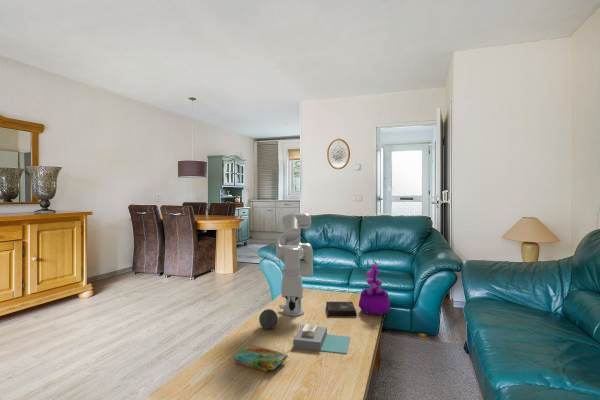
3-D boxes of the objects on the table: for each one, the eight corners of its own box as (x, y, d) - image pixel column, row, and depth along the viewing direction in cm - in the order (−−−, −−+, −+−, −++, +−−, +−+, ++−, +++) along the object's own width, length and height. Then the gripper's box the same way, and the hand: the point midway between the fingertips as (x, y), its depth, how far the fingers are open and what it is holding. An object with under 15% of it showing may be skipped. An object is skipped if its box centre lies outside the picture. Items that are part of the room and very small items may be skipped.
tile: (302, 335, 159) (302, 330, 159) (305, 329, 167) (305, 324, 167) (314, 336, 157) (314, 331, 157) (317, 330, 165) (317, 325, 165)
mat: (320, 351, 152) (320, 350, 152) (326, 334, 169) (326, 334, 169) (346, 354, 149) (346, 353, 149) (350, 337, 166) (350, 336, 166)
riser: (293, 347, 155) (293, 339, 155) (302, 332, 172) (302, 324, 172) (320, 351, 152) (320, 342, 152) (326, 334, 169) (326, 327, 169)
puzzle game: (249, 342, 150) (287, 352, 141) (249, 352, 151) (287, 363, 141) (233, 353, 140) (272, 364, 131) (233, 364, 140) (272, 376, 131)
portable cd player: (356, 317, 195) (357, 310, 195) (328, 317, 195) (328, 310, 195) (353, 307, 211) (353, 301, 211) (326, 307, 212) (326, 301, 212)
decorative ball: (255, 329, 176) (255, 311, 176) (265, 323, 185) (265, 305, 184) (271, 333, 171) (271, 314, 171) (281, 326, 180) (281, 308, 180)
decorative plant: (374, 320, 189) (374, 268, 188) (352, 311, 204) (352, 262, 204) (396, 314, 199) (397, 264, 198) (374, 305, 214) (374, 259, 214)
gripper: (275, 273, 162) (275, 310, 162) (305, 275, 158) (305, 313, 158) (280, 270, 169) (280, 306, 169) (308, 271, 165) (308, 308, 165)
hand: (292, 309), depth 163 cm, fingers closed
